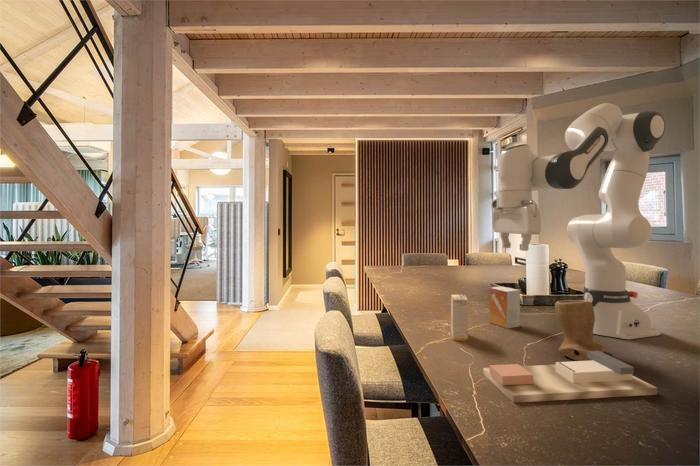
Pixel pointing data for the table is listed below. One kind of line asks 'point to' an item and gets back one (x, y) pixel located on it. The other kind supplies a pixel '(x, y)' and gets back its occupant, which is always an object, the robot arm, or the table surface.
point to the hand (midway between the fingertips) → (514, 249)
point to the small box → (505, 307)
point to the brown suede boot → (577, 328)
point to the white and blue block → (595, 369)
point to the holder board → (568, 387)
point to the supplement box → (459, 317)
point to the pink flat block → (511, 374)
